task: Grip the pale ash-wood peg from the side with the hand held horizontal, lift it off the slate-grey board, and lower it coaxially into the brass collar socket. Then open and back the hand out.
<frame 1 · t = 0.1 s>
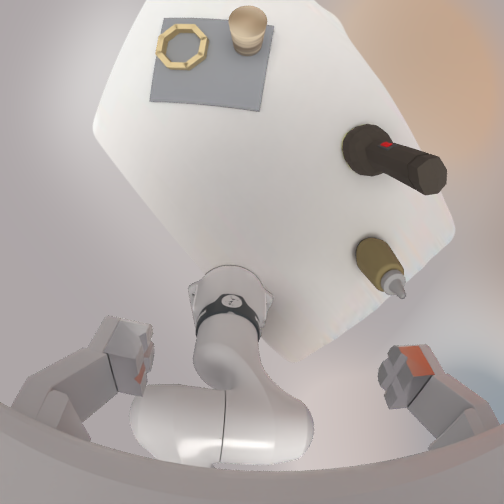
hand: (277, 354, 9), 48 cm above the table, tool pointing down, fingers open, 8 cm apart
ash peg: (247, 43, 42), point 1 cm above the table, touching socket board
socket board: (210, 61, 44), on the table
flashlight: (364, 148, 52), on the table
squeeze bottle: (367, 249, 61), on the table
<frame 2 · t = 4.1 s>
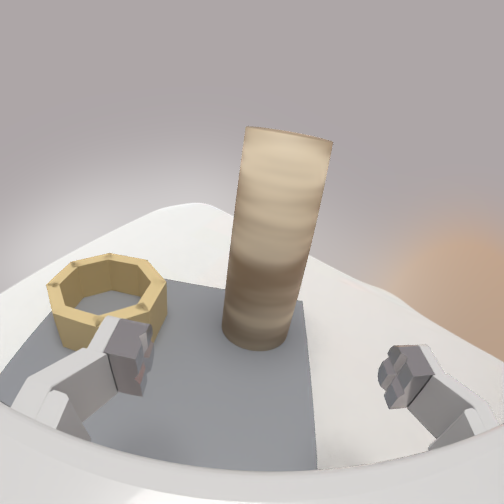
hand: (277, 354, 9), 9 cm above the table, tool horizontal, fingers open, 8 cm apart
ash peg: (254, 327, 22), point 1 cm above the table, touching socket board
socket board: (162, 359, 19), on the table
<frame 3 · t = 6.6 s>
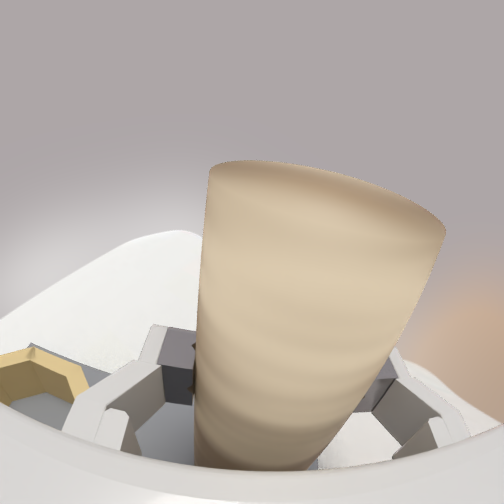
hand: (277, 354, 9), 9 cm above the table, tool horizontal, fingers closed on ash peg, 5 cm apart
ash peg: (243, 469, 12), point 1 cm above the table, touching gripper, socket board
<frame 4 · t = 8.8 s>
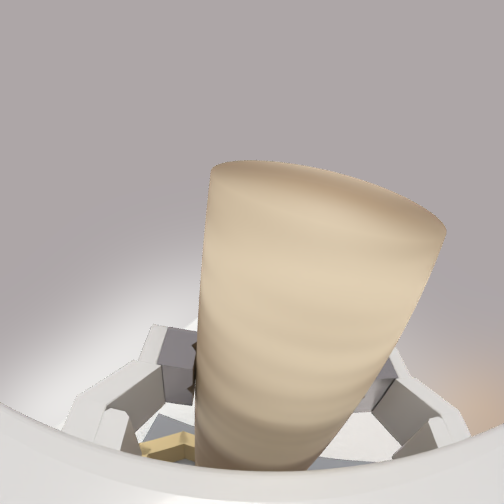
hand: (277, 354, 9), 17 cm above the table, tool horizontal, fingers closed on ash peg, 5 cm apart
ash peg: (244, 469, 12), point 9 cm above the table, touching gripper
when the fingers open (11 cm above the table, at t = 11.0 s): ash peg drops 1 cm, resting on socket board.
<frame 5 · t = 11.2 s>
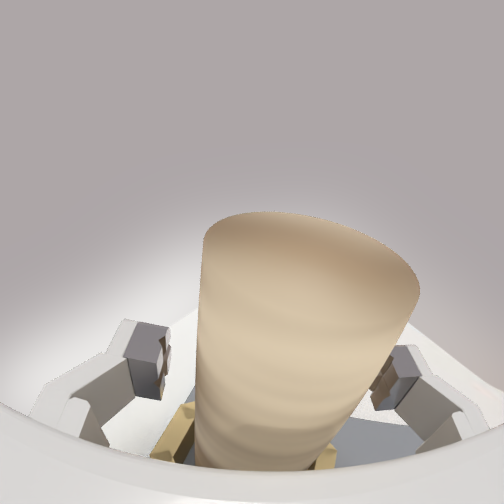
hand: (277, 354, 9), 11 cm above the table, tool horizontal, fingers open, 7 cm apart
ash peg: (240, 477, 13), point 1 cm above the table, touching socket board
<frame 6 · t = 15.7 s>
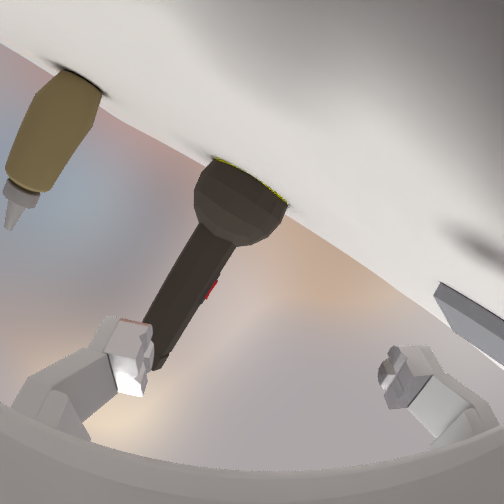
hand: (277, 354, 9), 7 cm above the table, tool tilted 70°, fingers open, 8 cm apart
flashlight: (251, 180, 31), on the table
squeeze bottle: (84, 79, 23), on the table
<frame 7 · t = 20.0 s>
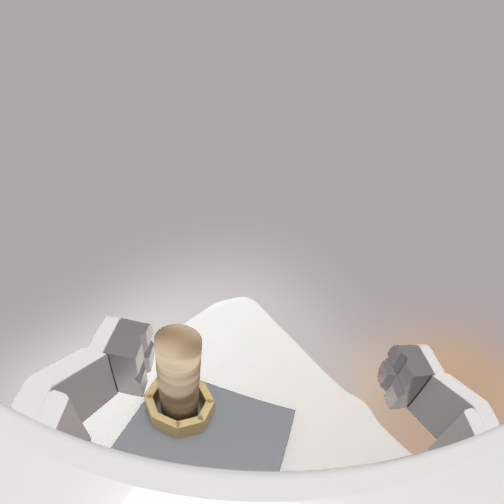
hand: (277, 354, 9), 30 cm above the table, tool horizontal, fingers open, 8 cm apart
ash peg: (179, 410, 35), point 1 cm above the table, touching socket board
socket board: (208, 438, 33), on the table
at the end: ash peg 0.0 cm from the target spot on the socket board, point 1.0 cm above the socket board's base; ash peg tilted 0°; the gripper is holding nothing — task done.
